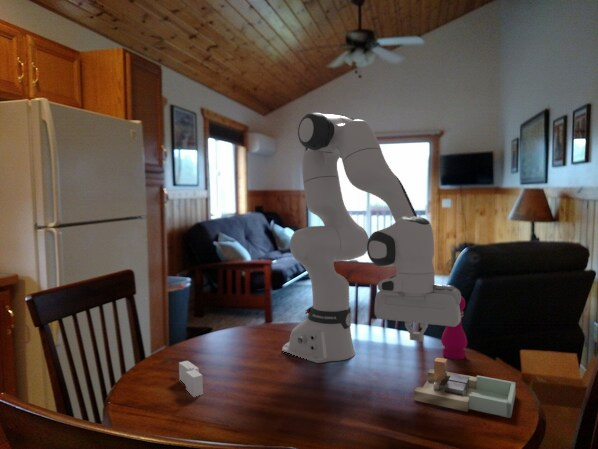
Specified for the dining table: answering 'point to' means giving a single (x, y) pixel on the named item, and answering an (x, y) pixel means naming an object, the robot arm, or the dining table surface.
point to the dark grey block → (460, 380)
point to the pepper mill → (455, 338)
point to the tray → (493, 396)
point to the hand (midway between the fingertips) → (416, 340)
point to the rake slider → (440, 374)
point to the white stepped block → (191, 378)
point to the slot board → (444, 393)
